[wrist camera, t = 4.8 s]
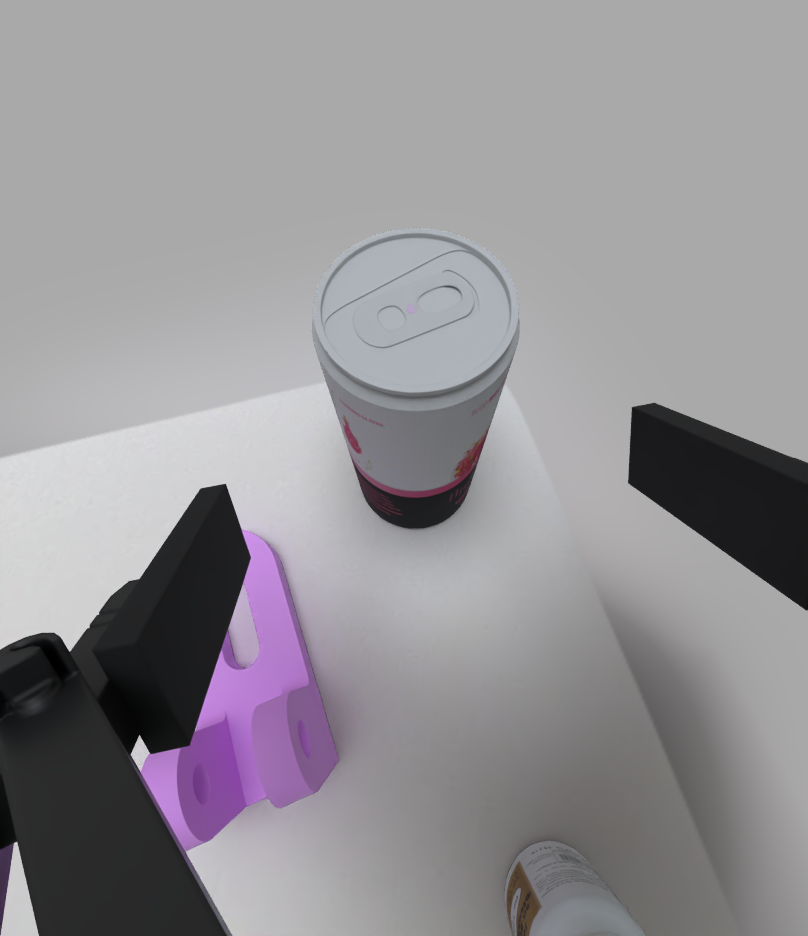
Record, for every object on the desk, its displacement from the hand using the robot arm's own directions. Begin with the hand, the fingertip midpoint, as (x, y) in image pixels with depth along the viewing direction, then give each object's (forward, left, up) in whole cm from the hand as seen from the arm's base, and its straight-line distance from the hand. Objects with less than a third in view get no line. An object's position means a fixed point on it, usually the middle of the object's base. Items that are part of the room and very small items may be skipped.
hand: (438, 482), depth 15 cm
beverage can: (+2, -4, -12) cm, 13 cm away
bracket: (+8, +7, -12) cm, 16 cm away
